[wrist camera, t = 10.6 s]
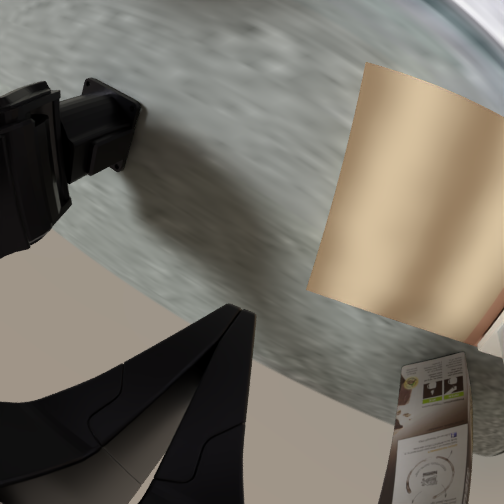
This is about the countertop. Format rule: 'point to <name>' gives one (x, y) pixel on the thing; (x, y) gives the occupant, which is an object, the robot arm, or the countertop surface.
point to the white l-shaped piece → (494, 339)
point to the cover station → (418, 210)
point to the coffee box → (431, 435)
